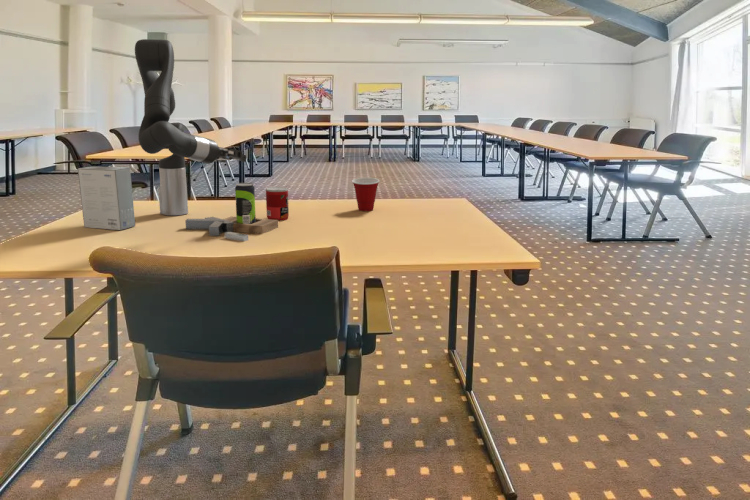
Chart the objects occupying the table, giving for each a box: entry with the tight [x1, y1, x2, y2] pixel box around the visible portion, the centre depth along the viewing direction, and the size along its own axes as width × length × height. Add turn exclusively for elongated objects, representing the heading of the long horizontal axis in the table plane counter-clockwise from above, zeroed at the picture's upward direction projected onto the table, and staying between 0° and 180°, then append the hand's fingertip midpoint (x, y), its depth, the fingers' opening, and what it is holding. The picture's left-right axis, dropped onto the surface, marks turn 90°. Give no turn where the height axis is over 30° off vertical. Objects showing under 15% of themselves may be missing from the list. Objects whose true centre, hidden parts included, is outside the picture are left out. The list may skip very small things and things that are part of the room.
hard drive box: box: [77, 166, 136, 231], centre depth 210 cm, size 16×8×20 cm, turn 71°
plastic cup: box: [351, 177, 380, 212], centre depth 246 cm, size 11×11×12 cm
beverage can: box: [234, 182, 257, 224], centre depth 210 cm, size 6×6×15 cm
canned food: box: [265, 186, 290, 222], centre depth 227 cm, size 8×8×11 cm
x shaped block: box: [185, 216, 234, 237], centre depth 208 cm, size 10×18×3 cm, turn 46°
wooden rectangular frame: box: [223, 215, 279, 235], centre depth 211 cm, size 18×11×2 cm, turn 72°
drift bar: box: [224, 231, 249, 242], centre depth 196 cm, size 8×2×2 cm, turn 59°
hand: (235, 159), depth 206 cm, fingers open, 8 cm apart
